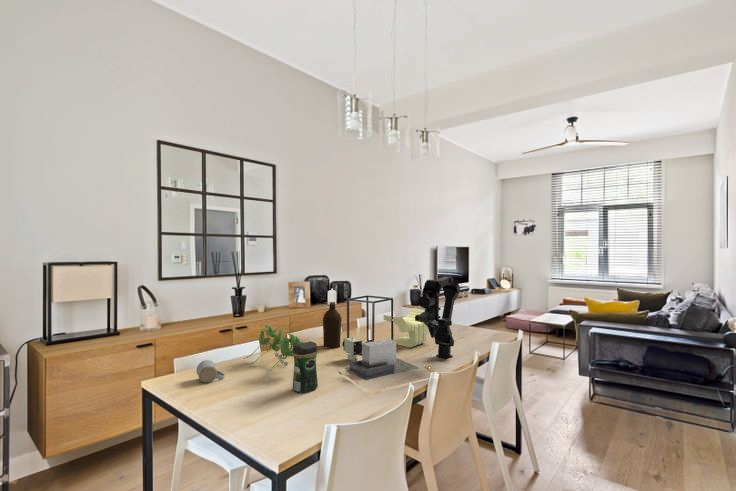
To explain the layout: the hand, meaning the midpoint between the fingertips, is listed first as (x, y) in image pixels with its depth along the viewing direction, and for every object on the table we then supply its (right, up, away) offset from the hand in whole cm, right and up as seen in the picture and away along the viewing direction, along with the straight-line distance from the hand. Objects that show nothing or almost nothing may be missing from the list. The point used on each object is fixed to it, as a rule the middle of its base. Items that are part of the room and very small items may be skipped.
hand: (432, 337), depth 179 cm
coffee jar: (-57, -13, -32) cm, 67 cm away
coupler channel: (-25, -13, -9) cm, 29 cm away
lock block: (-26, -12, -10) cm, 31 cm away
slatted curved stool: (-7, -13, +38) cm, 41 cm away
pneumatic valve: (-39, -13, +3) cm, 41 cm away
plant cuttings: (-75, -12, -8) cm, 77 cm away
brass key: (-3, -13, -10) cm, 17 cm away
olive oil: (-52, -13, +30) cm, 62 cm away
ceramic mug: (-98, -12, -23) cm, 102 cm away
